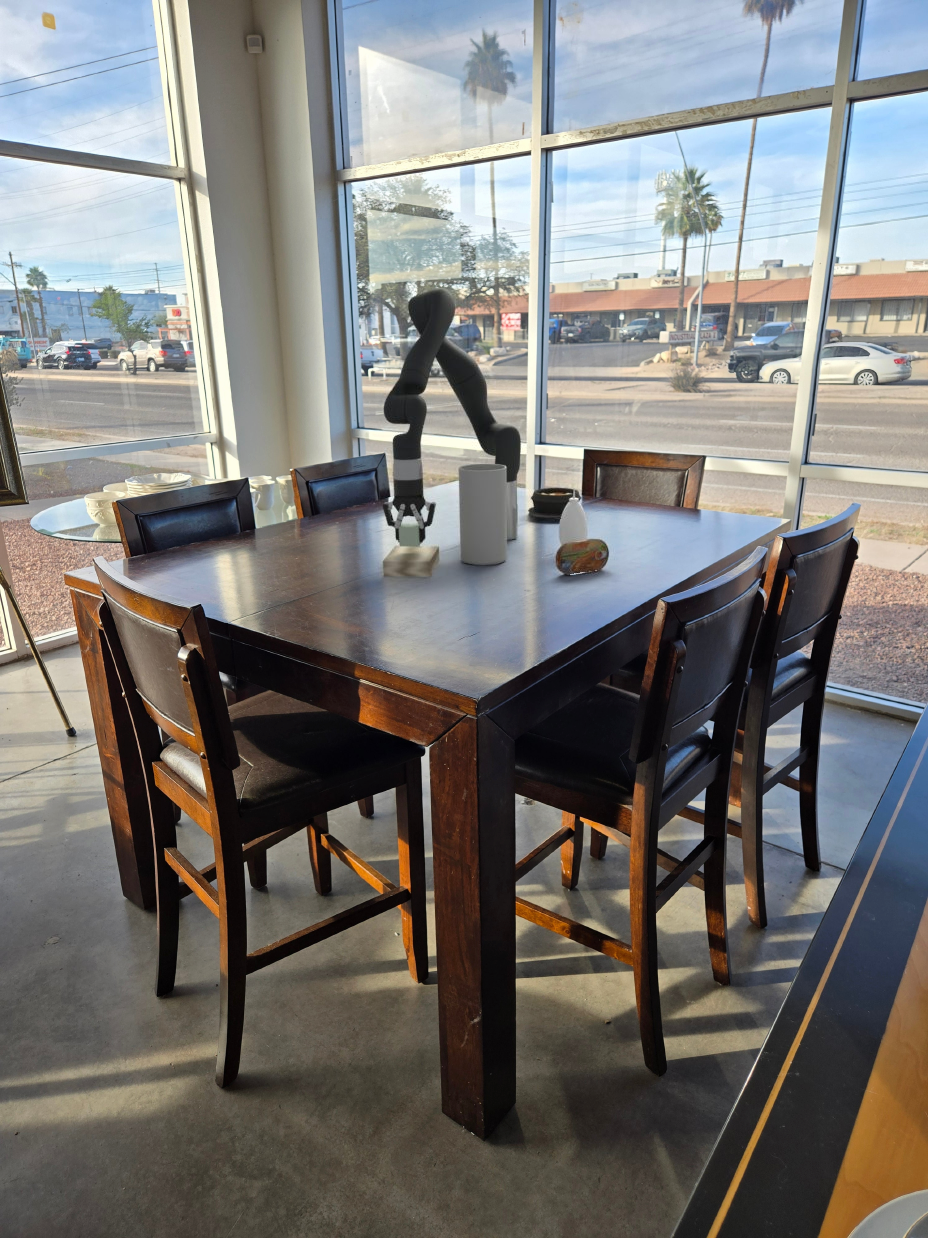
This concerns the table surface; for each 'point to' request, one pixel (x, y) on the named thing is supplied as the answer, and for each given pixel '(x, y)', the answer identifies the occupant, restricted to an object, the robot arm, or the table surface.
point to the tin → (582, 556)
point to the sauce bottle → (573, 522)
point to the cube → (409, 535)
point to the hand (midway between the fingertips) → (410, 541)
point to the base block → (411, 561)
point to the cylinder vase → (483, 513)
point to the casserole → (551, 502)
